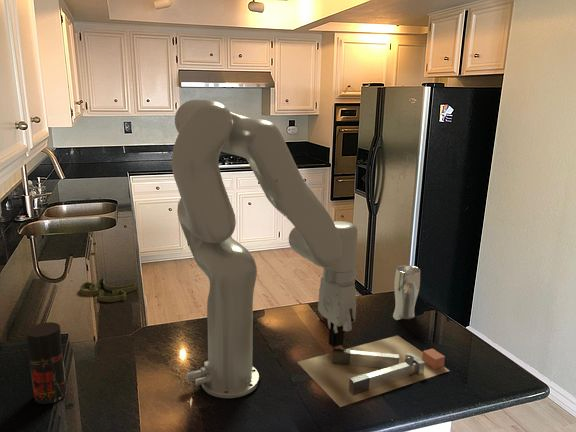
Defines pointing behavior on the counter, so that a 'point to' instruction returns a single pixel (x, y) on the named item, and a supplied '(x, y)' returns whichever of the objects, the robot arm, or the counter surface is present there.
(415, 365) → the base
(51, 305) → the counter surface
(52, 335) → the deodorant
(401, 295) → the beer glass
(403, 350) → the board
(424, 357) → the tab
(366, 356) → the tong jaw
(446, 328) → the counter surface
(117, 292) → the cookie cutter
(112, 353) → the counter surface
